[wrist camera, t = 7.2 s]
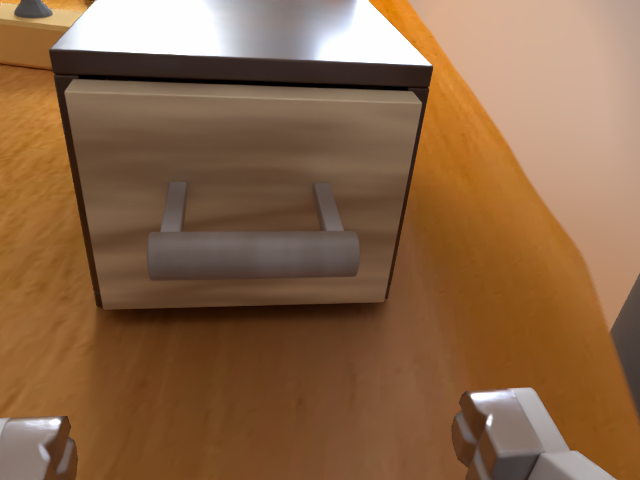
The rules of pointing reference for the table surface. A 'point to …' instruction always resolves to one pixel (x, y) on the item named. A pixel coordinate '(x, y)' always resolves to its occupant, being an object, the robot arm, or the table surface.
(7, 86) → the table surface
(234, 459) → the table surface
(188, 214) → the drawer
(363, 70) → the cabinet
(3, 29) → the rubber stamp
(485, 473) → the robot arm
